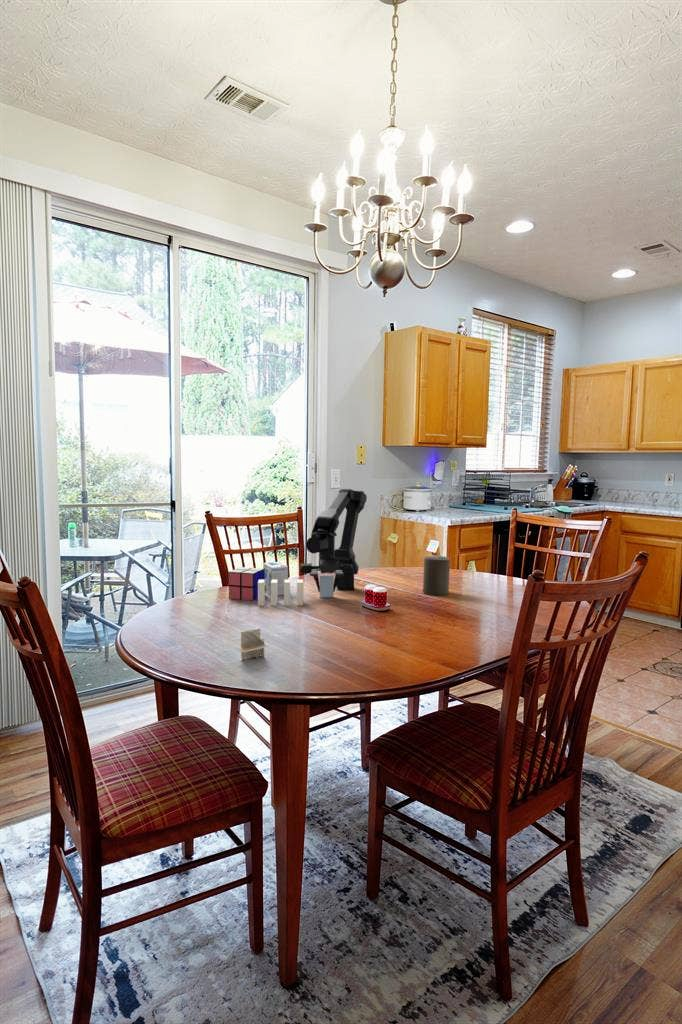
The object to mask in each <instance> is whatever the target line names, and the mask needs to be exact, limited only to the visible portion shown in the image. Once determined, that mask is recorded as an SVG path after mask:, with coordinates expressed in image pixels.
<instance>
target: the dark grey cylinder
mask: <svg viewBox="0 0 682 1024" xmlns="http://www.w3.org/2000/svg"><path fill="white" fill-rule="evenodd" d="M423 558H424V559H423V561H424V562H423V579H422V580H423V581H422V583H423V584H422V592H423V594H425V595H428V596H429V595H430V596H433V597H434V596H435V597H441V596H442V597H443V596H448V595H449V594H450V593H449V592H450V591H449V589H450V587H449V586H450V571H451V570H450V567H451V565H450V564H451V563H450V561H451V558H450V557H447V556H442V555H438V554H436V555H426V556H424V557H423Z"/></svg>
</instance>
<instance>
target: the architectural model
mask: <svg viewBox="0 0 682 1024" xmlns="http://www.w3.org/2000/svg"><path fill="white" fill-rule="evenodd" d="M267 647H268V645H267V644H266V643H265V638H264V637H263V638H261V628H260V627H258V628H253V629H249V630H244V631H240V646H238V647H237V648H236V649H237V650H238V651H240V660H241V659H245V658H249V657H254V658H256V659H259V657H261V656H263V657H264V658H265V648H267ZM259 655H261V656H259ZM258 656H259V657H258ZM263 657H262V658H263ZM245 660H246V659H245Z"/></svg>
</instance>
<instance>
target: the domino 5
mask: <svg viewBox="0 0 682 1024" xmlns="http://www.w3.org/2000/svg"><path fill="white" fill-rule="evenodd" d="M334 576H335V575H334V574H322V575H321V574H320V575H319V586H320V592H319V598H320V599H322V598H321V597H333V598H334V592H333V584H334Z"/></svg>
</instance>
